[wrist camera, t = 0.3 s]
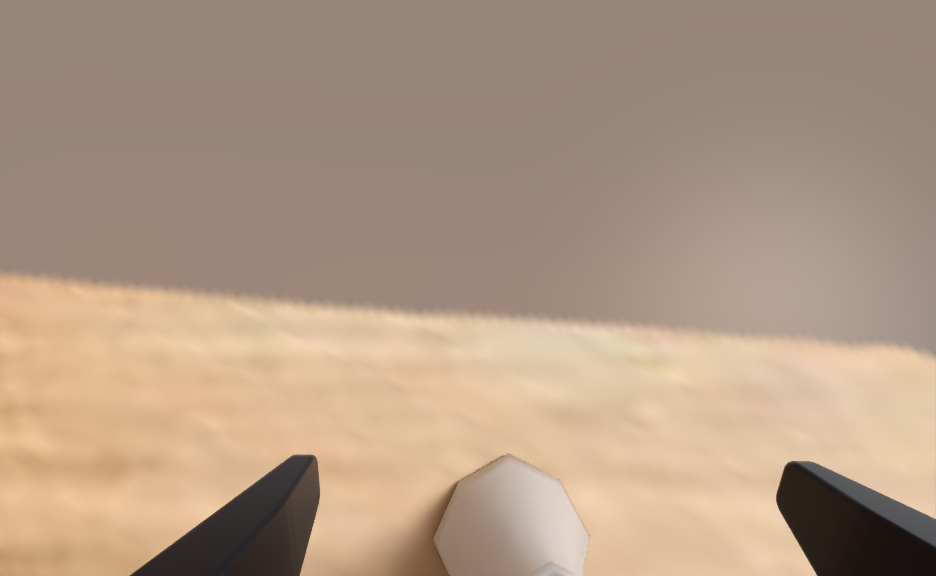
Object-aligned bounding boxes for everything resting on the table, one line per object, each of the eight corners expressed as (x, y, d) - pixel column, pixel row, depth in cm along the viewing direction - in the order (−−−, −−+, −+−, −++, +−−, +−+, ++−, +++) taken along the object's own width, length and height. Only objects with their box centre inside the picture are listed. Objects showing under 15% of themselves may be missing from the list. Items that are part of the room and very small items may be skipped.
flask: (515, 660, 20) (575, 890, 10) (406, 538, 21) (368, 643, 12) (613, 533, 22) (742, 628, 12) (506, 427, 23) (546, 436, 13)
